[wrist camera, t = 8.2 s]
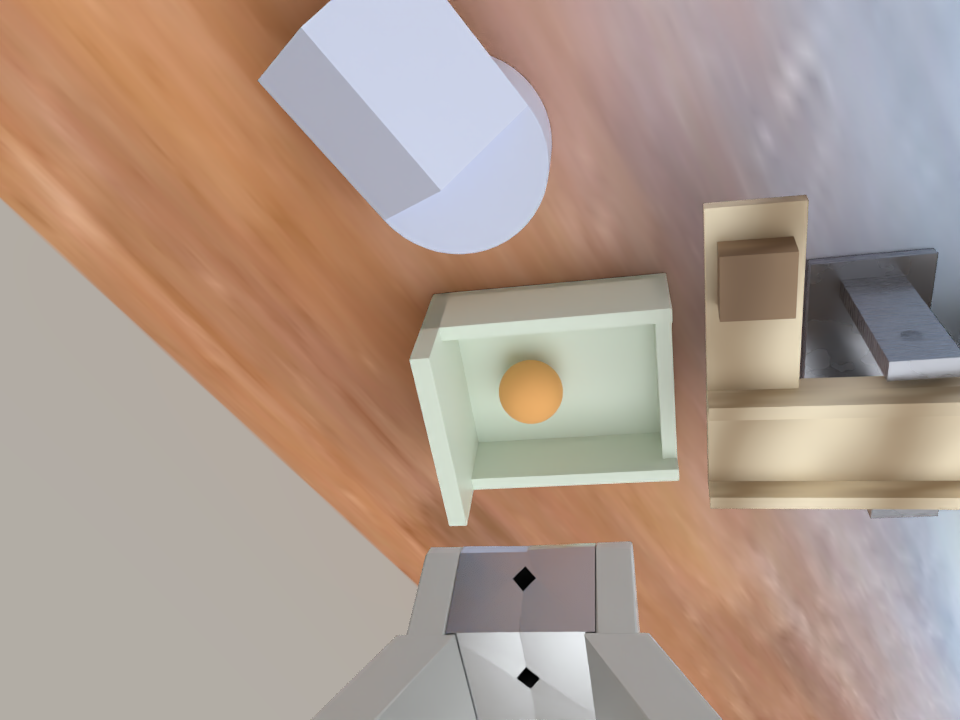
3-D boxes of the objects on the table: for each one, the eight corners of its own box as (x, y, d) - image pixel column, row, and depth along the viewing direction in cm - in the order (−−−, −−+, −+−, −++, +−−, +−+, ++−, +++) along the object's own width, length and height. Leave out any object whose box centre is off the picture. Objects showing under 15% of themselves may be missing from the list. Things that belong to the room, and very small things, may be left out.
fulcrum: (1070, 235, 39) (1179, 321, 32) (1027, 417, 45) (1112, 525, 37) (808, 259, 41) (854, 344, 34) (798, 430, 47) (836, 534, 40)
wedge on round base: (281, 64, 39) (453, 258, 44) (229, 99, 34) (432, 317, 38) (414, -68, 35) (588, 159, 40) (381, -54, 30) (587, 209, 34)
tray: (665, 272, 43) (677, 339, 37) (673, 437, 48) (684, 517, 42) (433, 294, 45) (409, 359, 39) (466, 448, 51) (449, 525, 45)
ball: (569, 370, 43) (506, 389, 42) (575, 424, 45) (515, 443, 44) (545, 341, 46) (486, 359, 45) (552, 393, 48) (495, 410, 47)
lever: (1181, 138, 31) (1277, 192, 26) (1092, 445, 39) (1154, 530, 34) (700, 181, 35) (707, 234, 30) (705, 449, 43) (711, 525, 38)
